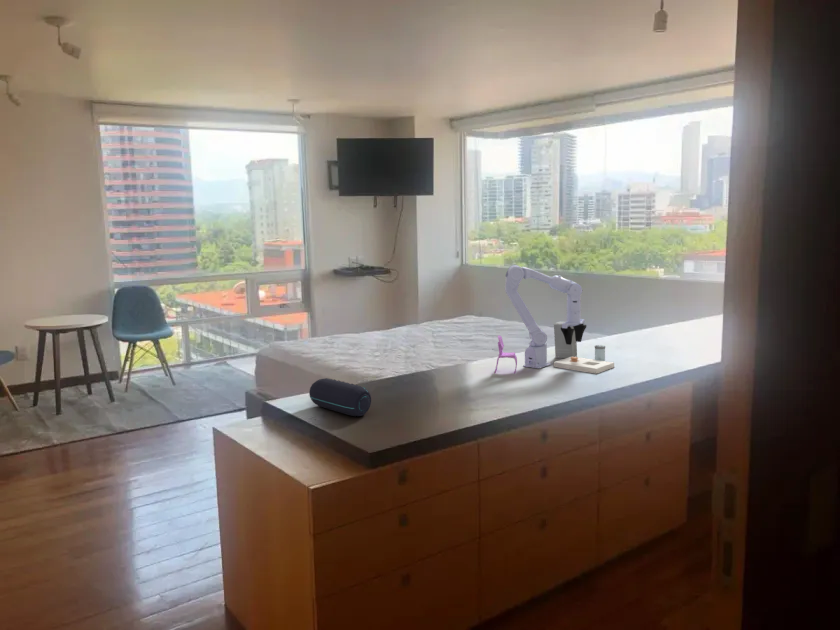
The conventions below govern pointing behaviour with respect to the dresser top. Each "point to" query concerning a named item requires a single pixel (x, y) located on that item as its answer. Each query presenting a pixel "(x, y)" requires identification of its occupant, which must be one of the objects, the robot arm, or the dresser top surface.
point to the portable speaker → (340, 396)
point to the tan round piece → (574, 359)
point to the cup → (600, 352)
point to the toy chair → (503, 354)
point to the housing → (584, 365)
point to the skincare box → (564, 343)
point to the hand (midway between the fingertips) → (573, 342)
